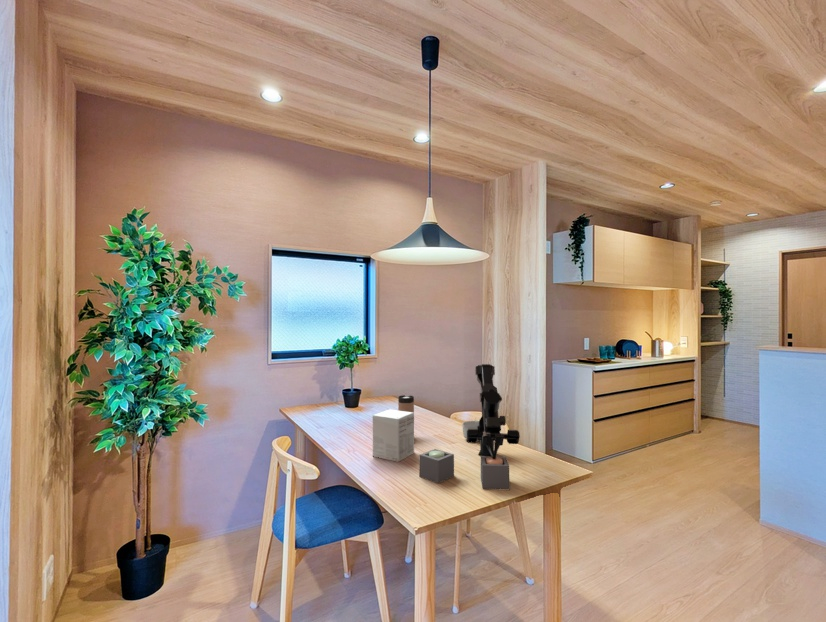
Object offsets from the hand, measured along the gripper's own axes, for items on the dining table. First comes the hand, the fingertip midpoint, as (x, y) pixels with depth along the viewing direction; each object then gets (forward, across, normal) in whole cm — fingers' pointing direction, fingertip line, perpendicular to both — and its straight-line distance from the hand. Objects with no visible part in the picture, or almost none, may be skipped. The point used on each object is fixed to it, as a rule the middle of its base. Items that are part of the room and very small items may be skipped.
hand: (494, 458), depth 143 cm
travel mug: (-30, -37, +42) cm, 63 cm away
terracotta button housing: (+6, 0, +6) cm, 9 cm away
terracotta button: (+2, 0, +2) cm, 3 cm away
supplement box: (-13, -40, +25) cm, 49 cm away
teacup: (-31, -4, +44) cm, 54 cm away
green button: (-1, -20, +6) cm, 21 cm away
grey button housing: (+3, -20, +10) cm, 23 cm away
